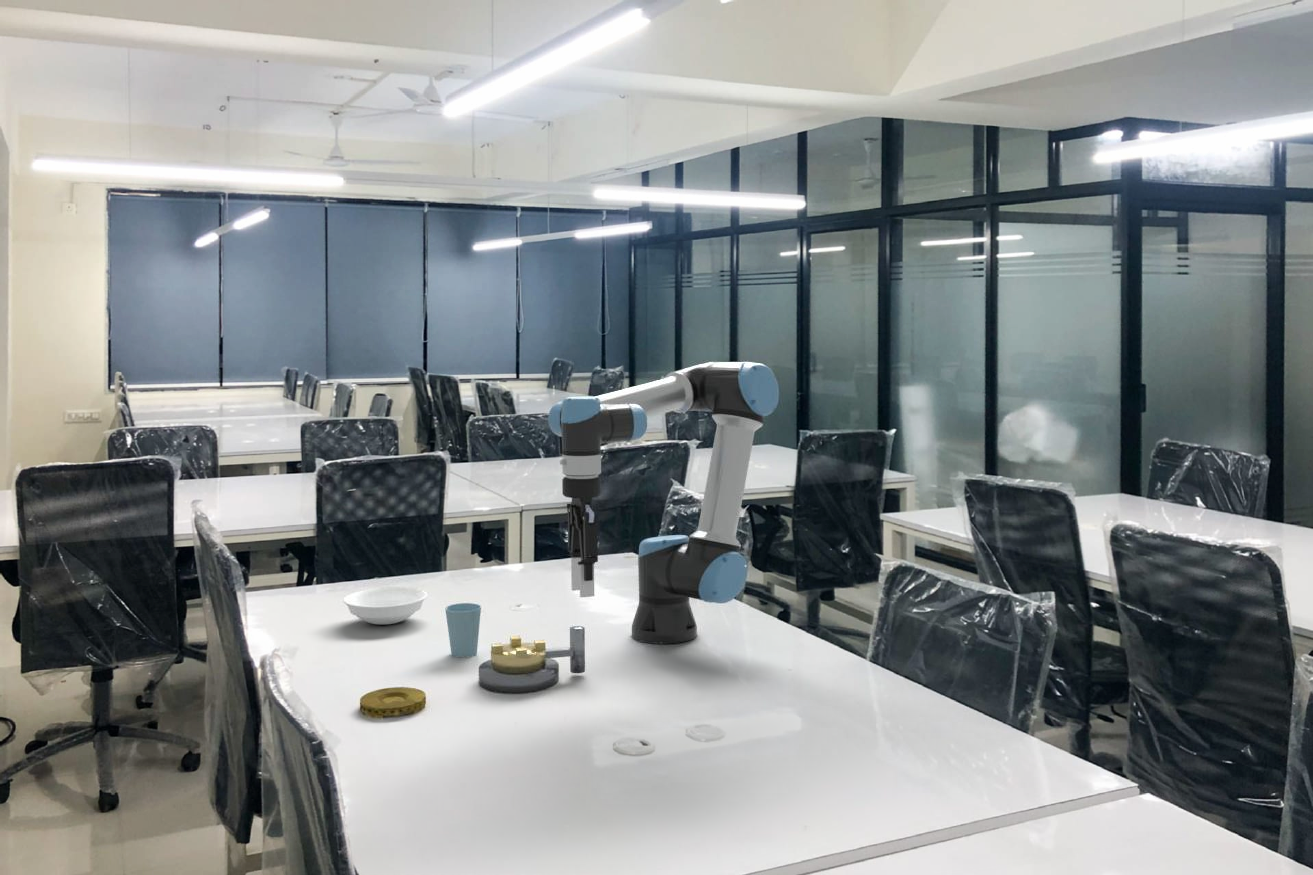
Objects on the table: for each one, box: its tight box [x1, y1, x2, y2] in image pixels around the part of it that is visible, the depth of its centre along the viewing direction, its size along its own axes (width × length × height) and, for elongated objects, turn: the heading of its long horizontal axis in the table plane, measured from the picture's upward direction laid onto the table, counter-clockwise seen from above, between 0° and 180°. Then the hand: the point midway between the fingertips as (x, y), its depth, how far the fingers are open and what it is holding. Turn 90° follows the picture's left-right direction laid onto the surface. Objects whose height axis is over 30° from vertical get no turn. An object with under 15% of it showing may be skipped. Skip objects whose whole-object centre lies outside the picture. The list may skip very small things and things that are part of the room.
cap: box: [478, 658, 560, 695], centre depth 217 cm, size 16×16×3 cm
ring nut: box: [490, 625, 586, 674], centre depth 218 cm, size 19×11×9 cm, turn 105°
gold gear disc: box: [359, 686, 427, 719], centre depth 202 cm, size 12×12×2 cm
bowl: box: [342, 586, 428, 625], centre depth 262 cm, size 20×20×6 cm
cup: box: [445, 602, 482, 658], centre depth 236 cm, size 8×8×10 cm
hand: (582, 592), depth 212 cm, fingers open, 5 cm apart
